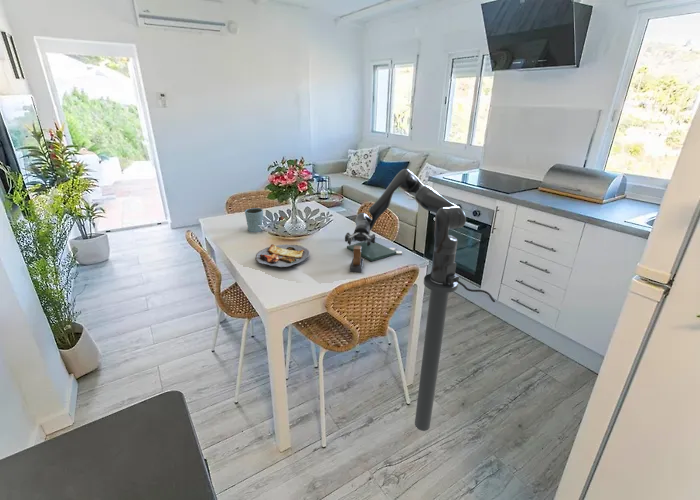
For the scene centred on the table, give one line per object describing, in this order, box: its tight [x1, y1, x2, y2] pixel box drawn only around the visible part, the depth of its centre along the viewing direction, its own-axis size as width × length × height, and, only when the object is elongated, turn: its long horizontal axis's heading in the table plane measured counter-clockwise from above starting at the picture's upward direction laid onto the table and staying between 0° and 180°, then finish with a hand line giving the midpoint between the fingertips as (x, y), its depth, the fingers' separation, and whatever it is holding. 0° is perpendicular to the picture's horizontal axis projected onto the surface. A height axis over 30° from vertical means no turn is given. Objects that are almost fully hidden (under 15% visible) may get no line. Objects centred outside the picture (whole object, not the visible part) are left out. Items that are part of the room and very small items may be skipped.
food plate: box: [254, 243, 311, 268], centre depth 165 cm, size 25×23×4 cm
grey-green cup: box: [244, 207, 264, 233], centre depth 200 cm, size 10×10×12 cm
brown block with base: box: [349, 246, 364, 274], centre depth 155 cm, size 5×10×10 cm, turn 173°
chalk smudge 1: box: [395, 250, 403, 255], centre depth 174 cm, size 3×3×1 cm
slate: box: [346, 241, 397, 262], centre depth 176 cm, size 20×16×1 cm
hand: (358, 243), depth 159 cm, fingers open, 8 cm apart
